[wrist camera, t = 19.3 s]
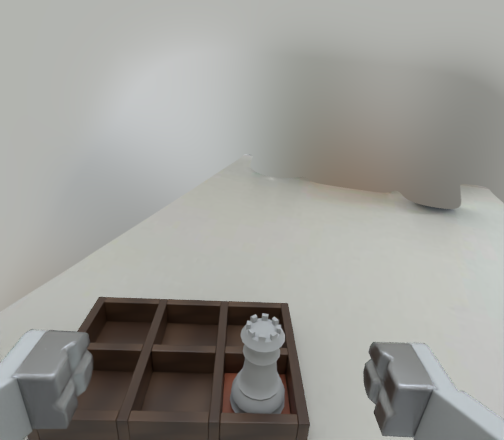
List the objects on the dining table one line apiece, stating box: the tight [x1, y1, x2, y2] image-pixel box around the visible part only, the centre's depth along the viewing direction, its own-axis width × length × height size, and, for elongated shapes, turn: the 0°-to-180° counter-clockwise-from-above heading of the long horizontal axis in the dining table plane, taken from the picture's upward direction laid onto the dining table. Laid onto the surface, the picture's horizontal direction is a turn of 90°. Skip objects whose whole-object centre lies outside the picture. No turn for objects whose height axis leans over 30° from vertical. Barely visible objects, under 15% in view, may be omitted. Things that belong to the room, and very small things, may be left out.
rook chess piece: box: [230, 313, 285, 414], centre depth 26 cm, size 4×4×8 cm
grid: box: [28, 297, 310, 440], centre depth 30 cm, size 20×13×3 cm
